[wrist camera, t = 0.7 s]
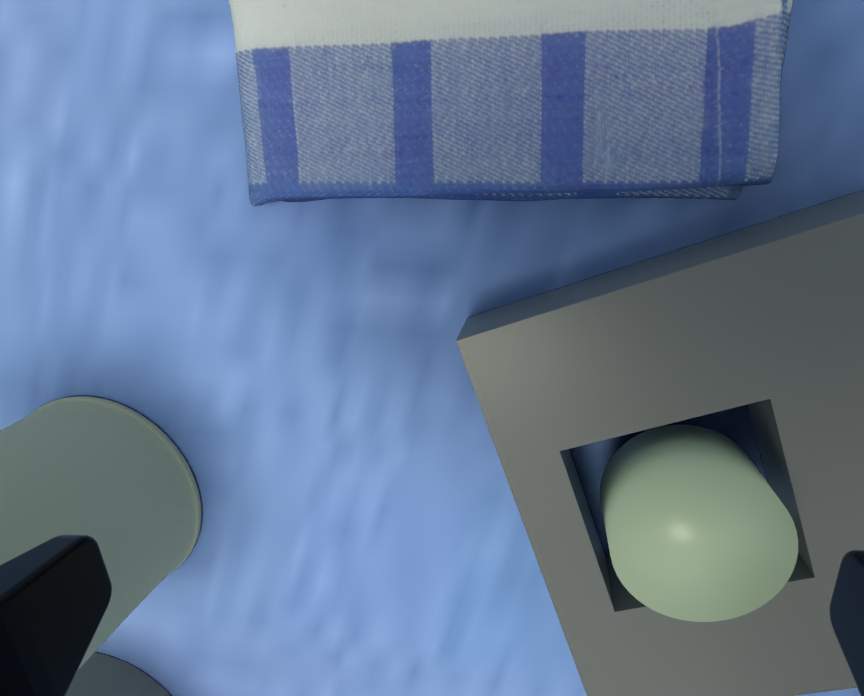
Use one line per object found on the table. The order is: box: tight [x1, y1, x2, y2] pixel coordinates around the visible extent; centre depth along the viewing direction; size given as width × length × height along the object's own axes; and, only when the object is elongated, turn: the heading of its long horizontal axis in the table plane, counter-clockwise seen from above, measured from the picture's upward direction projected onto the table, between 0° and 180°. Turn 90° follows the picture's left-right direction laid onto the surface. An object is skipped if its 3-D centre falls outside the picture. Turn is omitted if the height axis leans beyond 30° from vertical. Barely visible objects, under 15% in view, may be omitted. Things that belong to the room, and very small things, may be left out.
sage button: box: [600, 424, 798, 622], centre depth 18 cm, size 5×5×3 cm
